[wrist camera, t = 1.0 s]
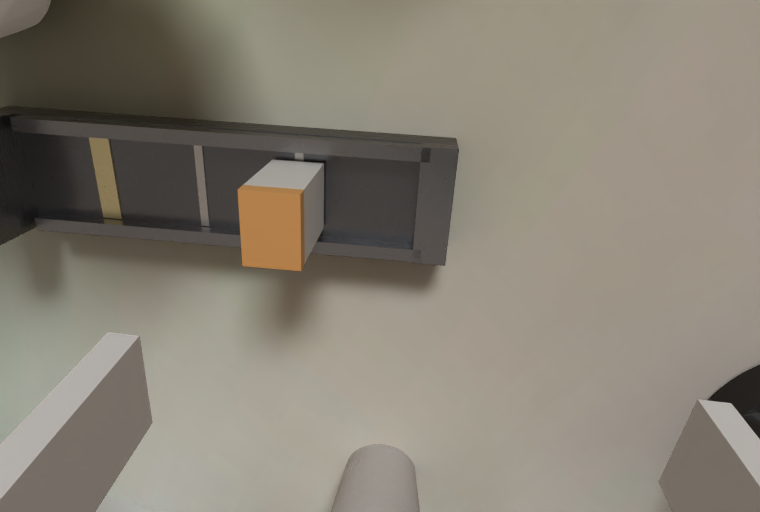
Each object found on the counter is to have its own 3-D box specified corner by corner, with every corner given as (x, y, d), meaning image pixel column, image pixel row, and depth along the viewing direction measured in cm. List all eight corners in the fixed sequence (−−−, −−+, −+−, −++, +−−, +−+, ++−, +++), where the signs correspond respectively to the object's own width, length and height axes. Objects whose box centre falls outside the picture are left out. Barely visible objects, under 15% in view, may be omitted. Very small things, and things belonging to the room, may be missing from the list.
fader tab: (323, 228, 31) (301, 271, 25) (275, 223, 31) (242, 266, 26) (324, 163, 29) (300, 194, 24) (272, 159, 29) (237, 189, 24)
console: (443, 246, 33) (446, 289, 28) (33, 211, 35) (-41, 246, 29) (456, 138, 30) (462, 162, 25) (7, 106, 32) (-80, 122, 26)
